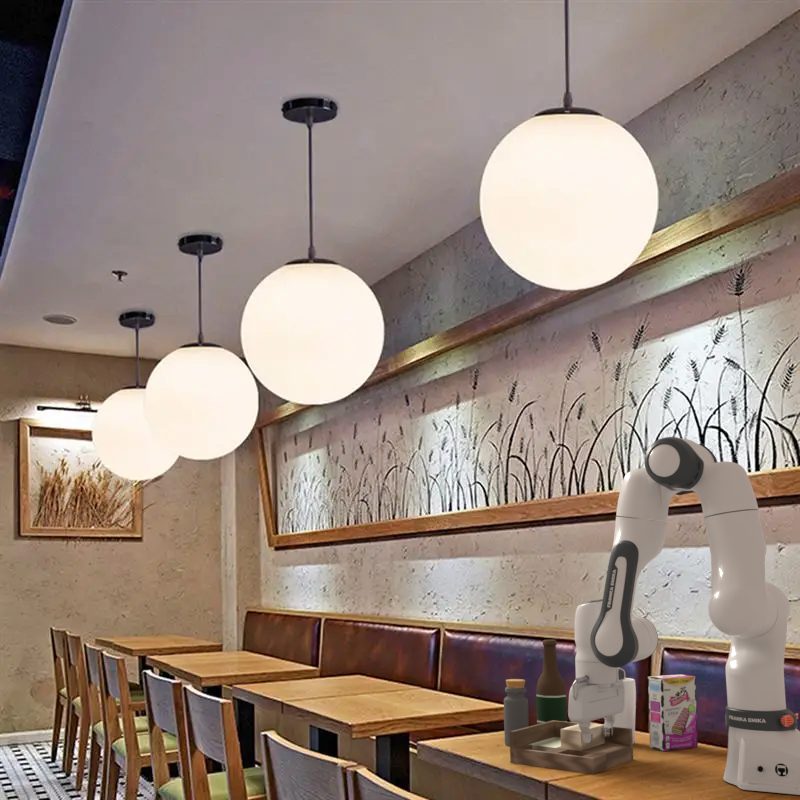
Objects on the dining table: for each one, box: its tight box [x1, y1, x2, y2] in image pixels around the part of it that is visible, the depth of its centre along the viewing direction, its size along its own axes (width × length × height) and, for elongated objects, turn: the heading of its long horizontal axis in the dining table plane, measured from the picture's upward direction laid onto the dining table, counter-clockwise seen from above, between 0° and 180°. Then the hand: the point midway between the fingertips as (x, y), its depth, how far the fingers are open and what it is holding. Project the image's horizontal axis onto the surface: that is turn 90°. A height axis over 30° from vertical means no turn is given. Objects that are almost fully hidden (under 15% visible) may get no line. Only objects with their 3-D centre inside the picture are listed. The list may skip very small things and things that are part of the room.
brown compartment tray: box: [509, 720, 634, 775], centre depth 217 cm, size 20×19×6 cm
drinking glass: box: [613, 677, 637, 745], centre depth 237 cm, size 7×7×15 cm
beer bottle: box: [535, 639, 568, 724], centre depth 243 cm, size 8×8×24 cm
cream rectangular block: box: [560, 722, 605, 751], centre depth 218 cm, size 5×11×4 cm, turn 142°
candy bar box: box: [647, 674, 699, 752], centre depth 231 cm, size 11×5×16 cm, turn 120°
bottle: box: [503, 678, 530, 747], centre depth 237 cm, size 6×6×15 cm
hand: (597, 739), depth 216 cm, fingers open, 8 cm apart
